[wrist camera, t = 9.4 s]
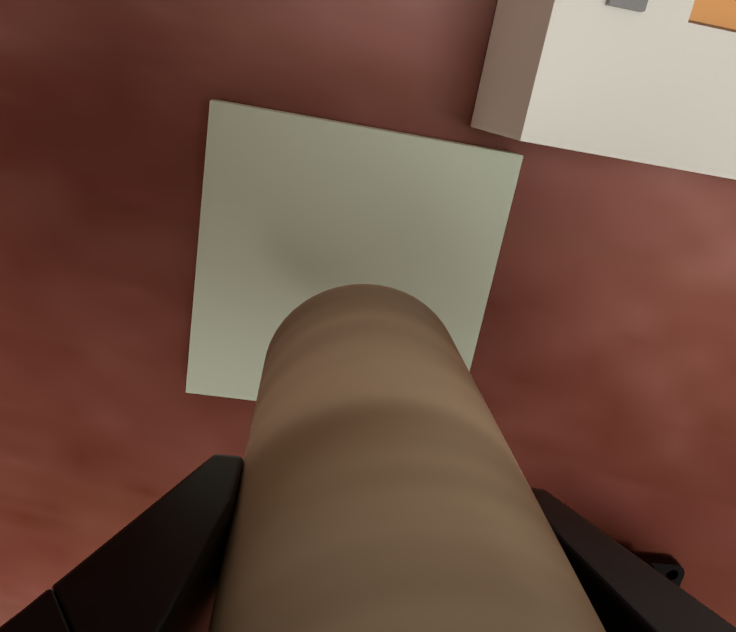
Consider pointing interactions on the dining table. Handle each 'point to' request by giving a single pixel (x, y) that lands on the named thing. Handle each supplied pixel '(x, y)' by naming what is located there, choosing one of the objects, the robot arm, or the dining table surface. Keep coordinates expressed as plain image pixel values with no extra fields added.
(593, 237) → the dining table surface
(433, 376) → the tan cylinder
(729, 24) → the guard button
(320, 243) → the rest pad
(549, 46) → the box
